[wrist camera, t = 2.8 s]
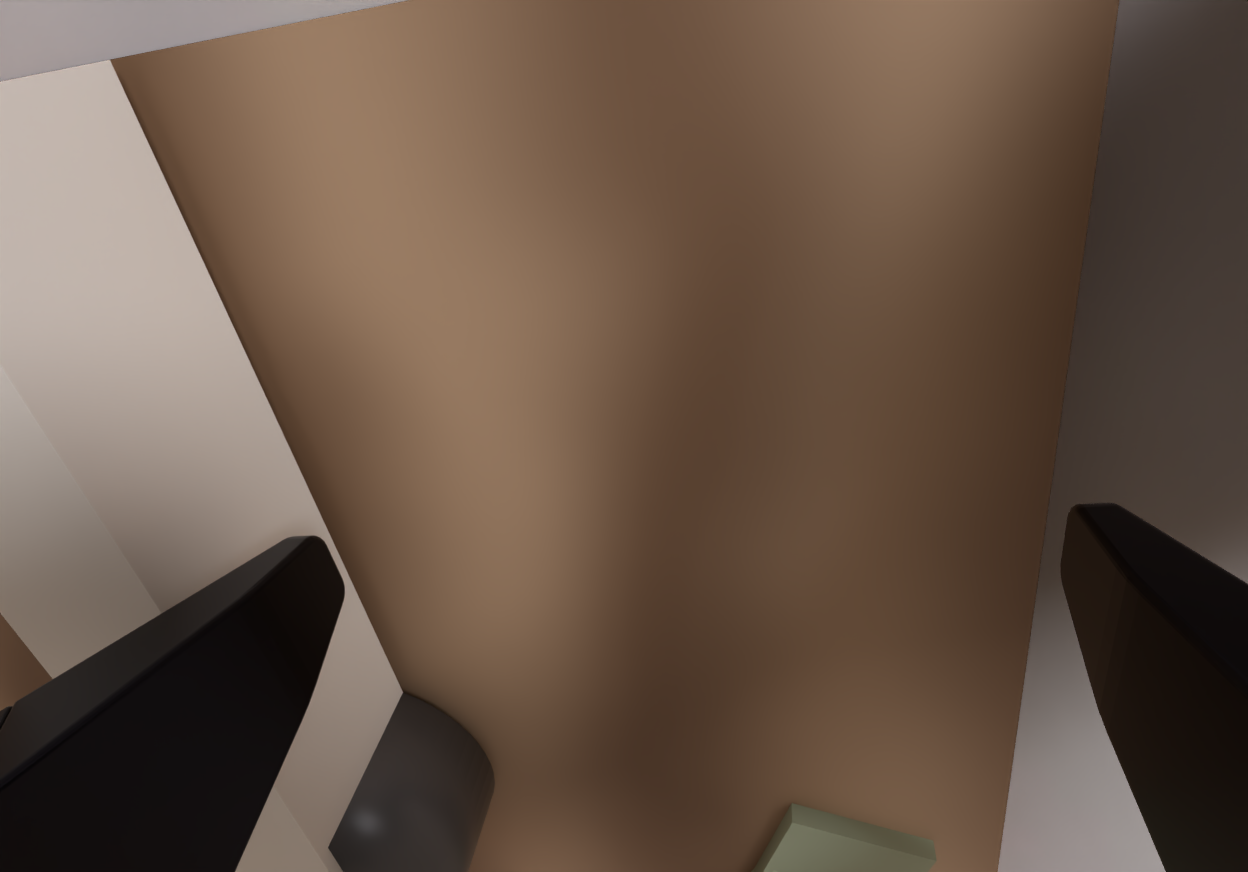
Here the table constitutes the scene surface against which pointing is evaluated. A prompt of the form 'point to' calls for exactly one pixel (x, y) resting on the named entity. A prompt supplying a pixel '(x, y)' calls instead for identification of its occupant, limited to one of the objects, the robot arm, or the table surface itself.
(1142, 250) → the table surface
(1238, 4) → the table surface
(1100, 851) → the table surface
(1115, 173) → the table surface
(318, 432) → the cutting board
